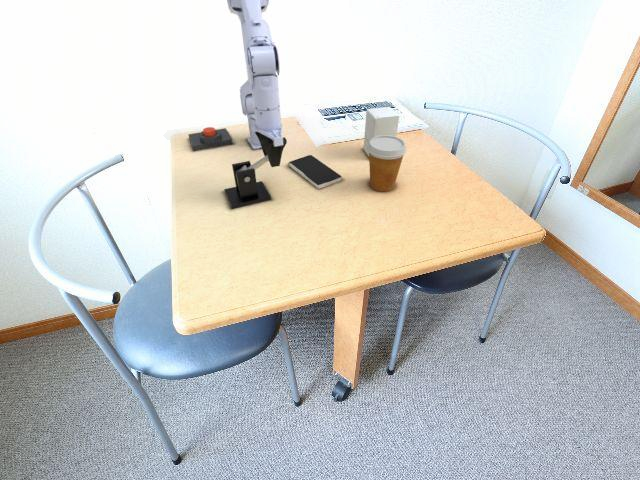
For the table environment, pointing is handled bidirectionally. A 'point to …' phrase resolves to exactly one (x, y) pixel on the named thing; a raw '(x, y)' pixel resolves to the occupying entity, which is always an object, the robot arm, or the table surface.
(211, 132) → the button
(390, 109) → the white packaging box
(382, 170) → the disposable coffee cup
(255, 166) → the lever
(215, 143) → the button box
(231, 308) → the table surface
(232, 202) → the bracket
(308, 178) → the smartphone
